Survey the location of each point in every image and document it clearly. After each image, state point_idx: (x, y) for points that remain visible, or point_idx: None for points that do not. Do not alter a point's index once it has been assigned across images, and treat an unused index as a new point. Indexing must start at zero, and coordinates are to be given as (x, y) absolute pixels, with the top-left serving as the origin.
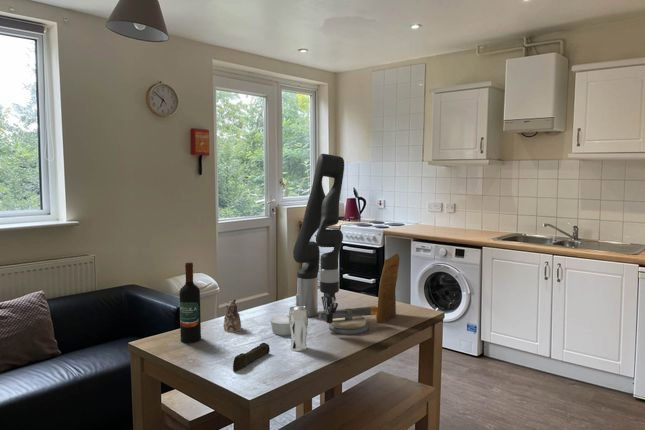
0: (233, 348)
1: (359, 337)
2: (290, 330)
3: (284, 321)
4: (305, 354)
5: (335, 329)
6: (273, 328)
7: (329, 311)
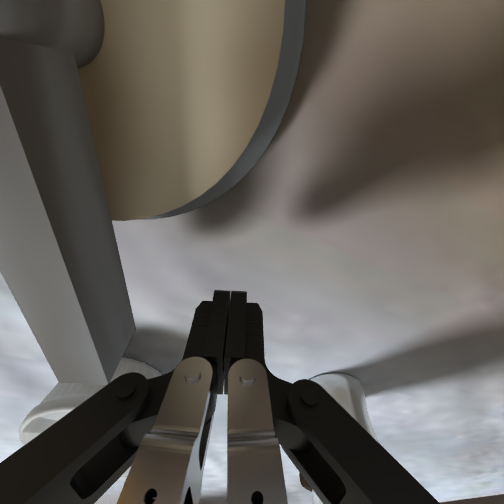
0: None
1: (377, 55)
2: None
3: None
4: (398, 389)
5: (197, 207)
6: None
7: (320, 459)
